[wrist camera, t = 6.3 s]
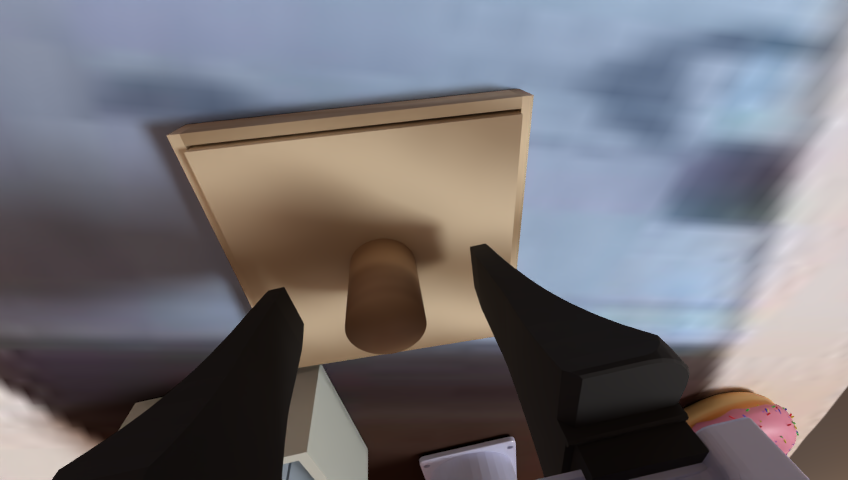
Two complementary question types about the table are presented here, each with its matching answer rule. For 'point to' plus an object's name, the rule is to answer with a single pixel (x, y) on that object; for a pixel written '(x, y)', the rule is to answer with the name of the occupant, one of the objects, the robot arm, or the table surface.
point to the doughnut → (745, 415)
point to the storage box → (313, 429)
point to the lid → (367, 213)
